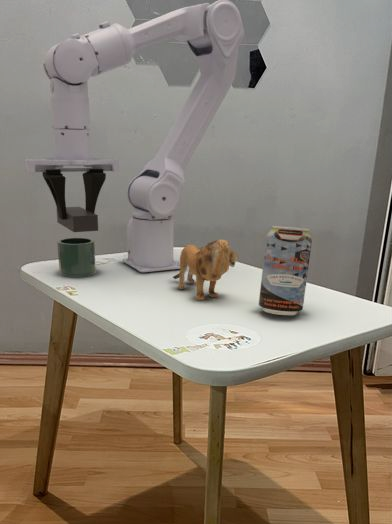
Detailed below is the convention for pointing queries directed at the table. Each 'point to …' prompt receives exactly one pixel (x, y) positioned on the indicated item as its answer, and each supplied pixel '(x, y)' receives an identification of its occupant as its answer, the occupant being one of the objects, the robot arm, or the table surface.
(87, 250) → the cup
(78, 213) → the black bar
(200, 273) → the lion figurine
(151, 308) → the table surface
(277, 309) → the beverage can
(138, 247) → the robot arm
